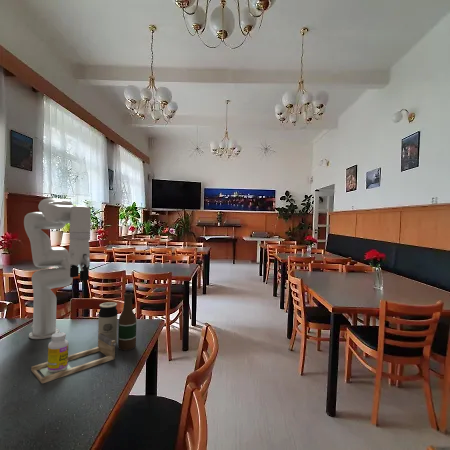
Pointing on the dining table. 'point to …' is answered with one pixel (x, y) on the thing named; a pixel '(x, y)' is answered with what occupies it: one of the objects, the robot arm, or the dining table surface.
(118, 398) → the dining table surface
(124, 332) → the beer bottle
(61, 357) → the supplement bottle
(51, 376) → the frame
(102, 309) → the travel mug
